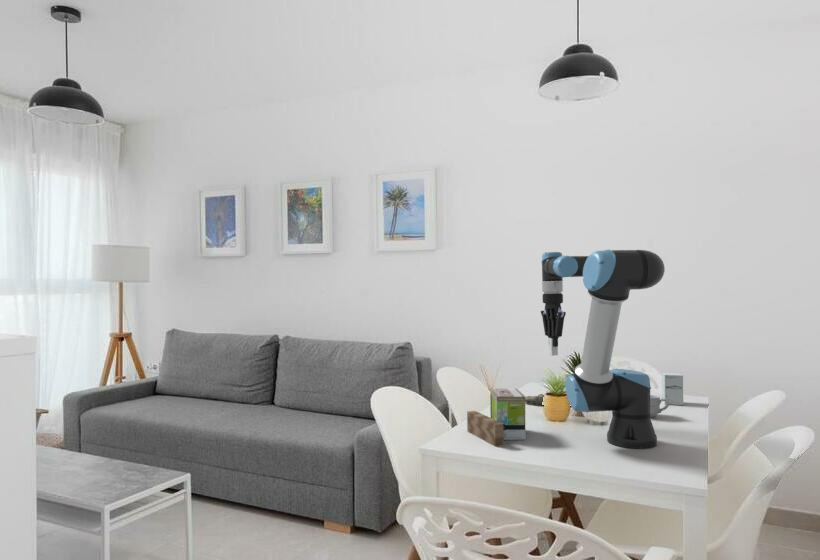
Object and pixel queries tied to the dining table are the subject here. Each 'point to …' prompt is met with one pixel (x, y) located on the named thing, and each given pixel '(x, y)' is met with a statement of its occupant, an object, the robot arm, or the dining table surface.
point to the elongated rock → (534, 399)
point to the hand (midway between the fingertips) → (553, 355)
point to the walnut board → (485, 428)
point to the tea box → (509, 412)
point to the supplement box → (672, 388)
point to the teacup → (657, 405)
